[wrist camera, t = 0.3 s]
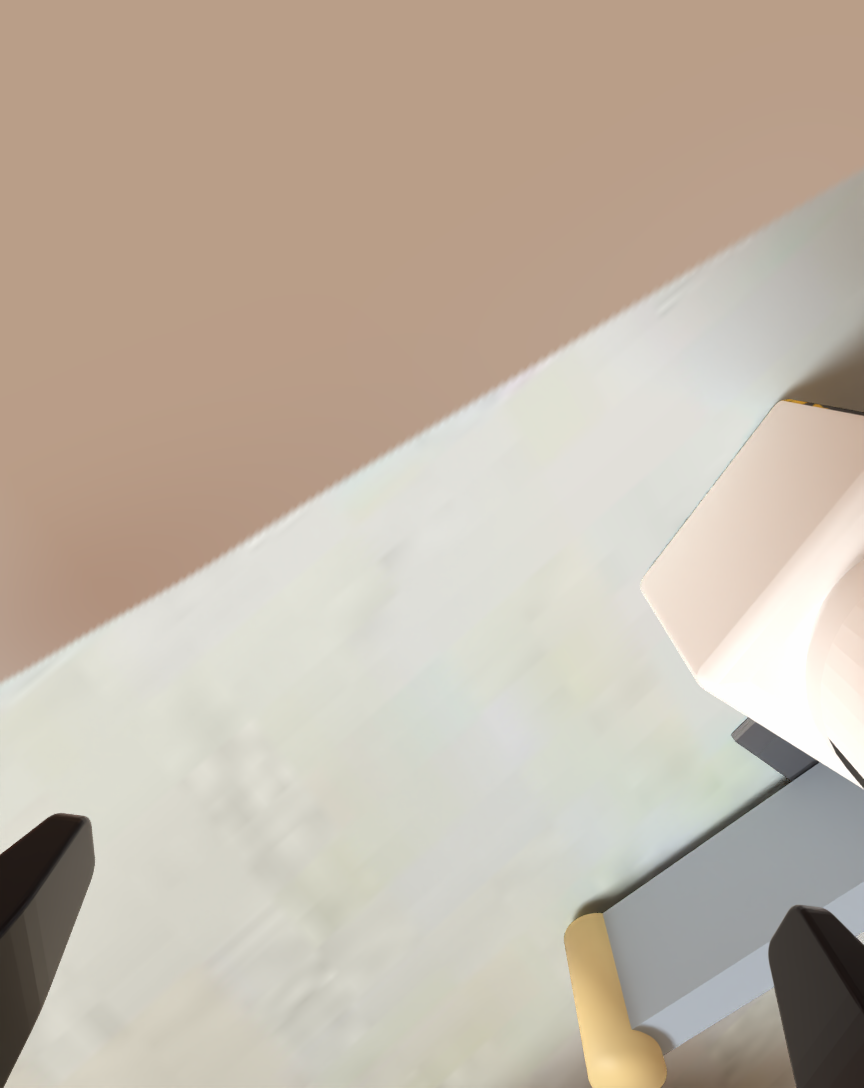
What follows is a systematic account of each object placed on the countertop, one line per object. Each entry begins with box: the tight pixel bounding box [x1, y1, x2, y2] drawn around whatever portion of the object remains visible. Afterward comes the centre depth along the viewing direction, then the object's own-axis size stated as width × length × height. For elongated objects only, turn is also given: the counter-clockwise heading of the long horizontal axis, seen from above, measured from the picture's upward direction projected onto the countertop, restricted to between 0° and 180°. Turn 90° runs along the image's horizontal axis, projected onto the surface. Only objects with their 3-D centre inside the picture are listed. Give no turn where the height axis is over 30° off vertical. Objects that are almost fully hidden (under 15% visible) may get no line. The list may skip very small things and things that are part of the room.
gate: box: [564, 762, 864, 1088], centre depth 23 cm, size 13×2×5 cm, turn 134°
